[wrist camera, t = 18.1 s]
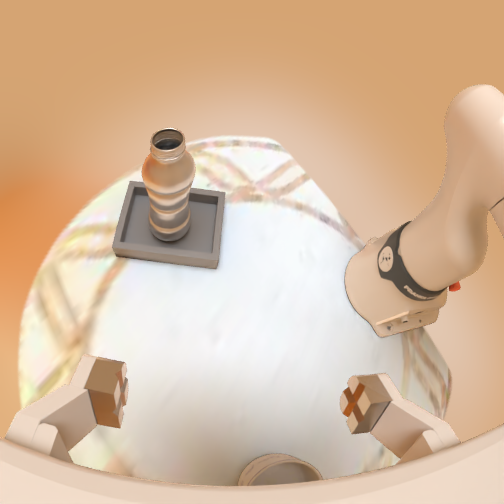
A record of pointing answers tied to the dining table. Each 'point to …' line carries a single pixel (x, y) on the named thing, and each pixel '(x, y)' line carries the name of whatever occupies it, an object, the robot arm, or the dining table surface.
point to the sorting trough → (179, 251)
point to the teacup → (278, 471)
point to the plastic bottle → (168, 184)
